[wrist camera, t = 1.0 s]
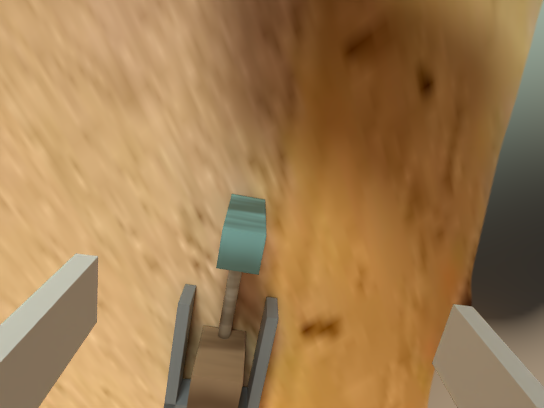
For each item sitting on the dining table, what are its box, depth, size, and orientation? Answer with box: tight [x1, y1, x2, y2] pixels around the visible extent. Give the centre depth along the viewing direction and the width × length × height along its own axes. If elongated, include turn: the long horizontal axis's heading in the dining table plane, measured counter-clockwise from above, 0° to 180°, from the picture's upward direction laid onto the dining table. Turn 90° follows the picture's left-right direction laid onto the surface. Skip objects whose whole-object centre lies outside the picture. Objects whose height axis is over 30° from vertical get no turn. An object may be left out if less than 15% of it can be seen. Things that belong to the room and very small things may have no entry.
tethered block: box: [187, 194, 266, 408], centre depth 39 cm, size 22×5×10 cm, turn 169°
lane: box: [164, 284, 278, 408], centre depth 43 cm, size 14×10×4 cm
